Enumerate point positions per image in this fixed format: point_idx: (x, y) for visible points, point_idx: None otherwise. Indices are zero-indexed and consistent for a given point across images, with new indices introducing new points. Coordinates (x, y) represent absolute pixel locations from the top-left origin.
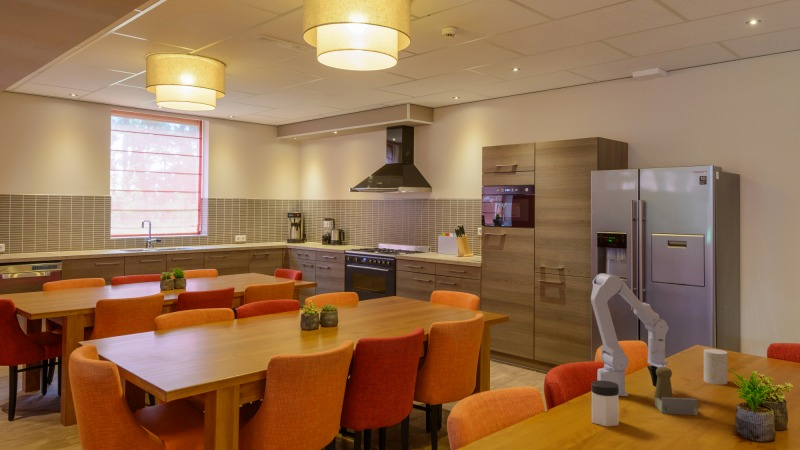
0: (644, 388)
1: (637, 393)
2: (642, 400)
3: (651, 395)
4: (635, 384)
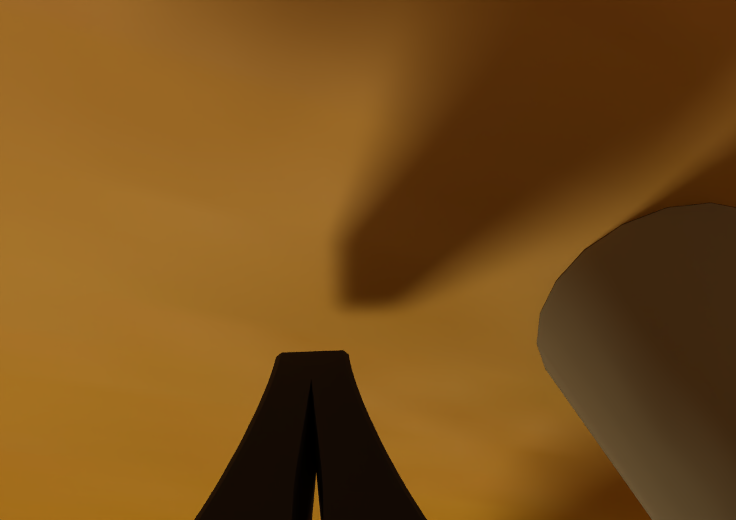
0: (198, 430)
1: (440, 513)
2: None
3: (516, 413)
4: (27, 487)
